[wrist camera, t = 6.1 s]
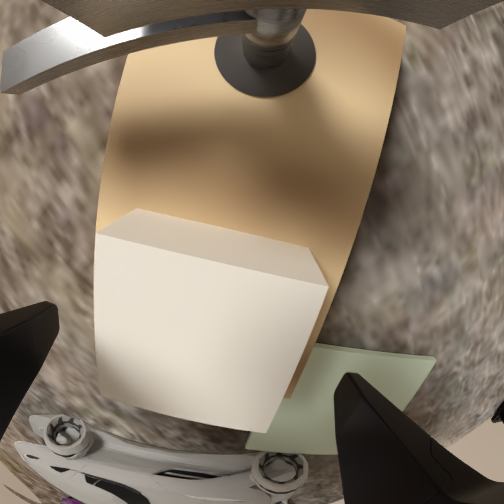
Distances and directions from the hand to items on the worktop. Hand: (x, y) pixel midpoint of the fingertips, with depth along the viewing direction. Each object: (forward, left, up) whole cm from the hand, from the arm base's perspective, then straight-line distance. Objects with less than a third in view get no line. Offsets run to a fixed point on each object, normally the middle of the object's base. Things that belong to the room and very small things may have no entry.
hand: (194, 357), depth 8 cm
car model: (-18, +2, -6) cm, 19 cm away
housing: (+4, 0, -5) cm, 6 cm away
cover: (0, 0, -3) cm, 3 cm away
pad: (-6, -8, -5) cm, 12 cm away
